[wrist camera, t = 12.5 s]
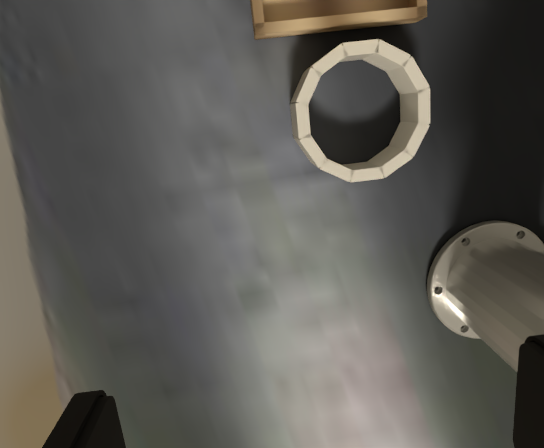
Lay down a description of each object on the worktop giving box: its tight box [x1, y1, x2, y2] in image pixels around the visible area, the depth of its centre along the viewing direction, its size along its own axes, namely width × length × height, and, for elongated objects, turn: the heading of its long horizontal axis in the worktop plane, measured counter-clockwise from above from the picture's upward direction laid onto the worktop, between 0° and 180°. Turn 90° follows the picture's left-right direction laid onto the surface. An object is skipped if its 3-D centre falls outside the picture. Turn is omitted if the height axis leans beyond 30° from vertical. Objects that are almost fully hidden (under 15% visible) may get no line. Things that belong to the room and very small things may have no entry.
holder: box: [290, 39, 430, 182], centre depth 35 cm, size 11×11×4 cm
